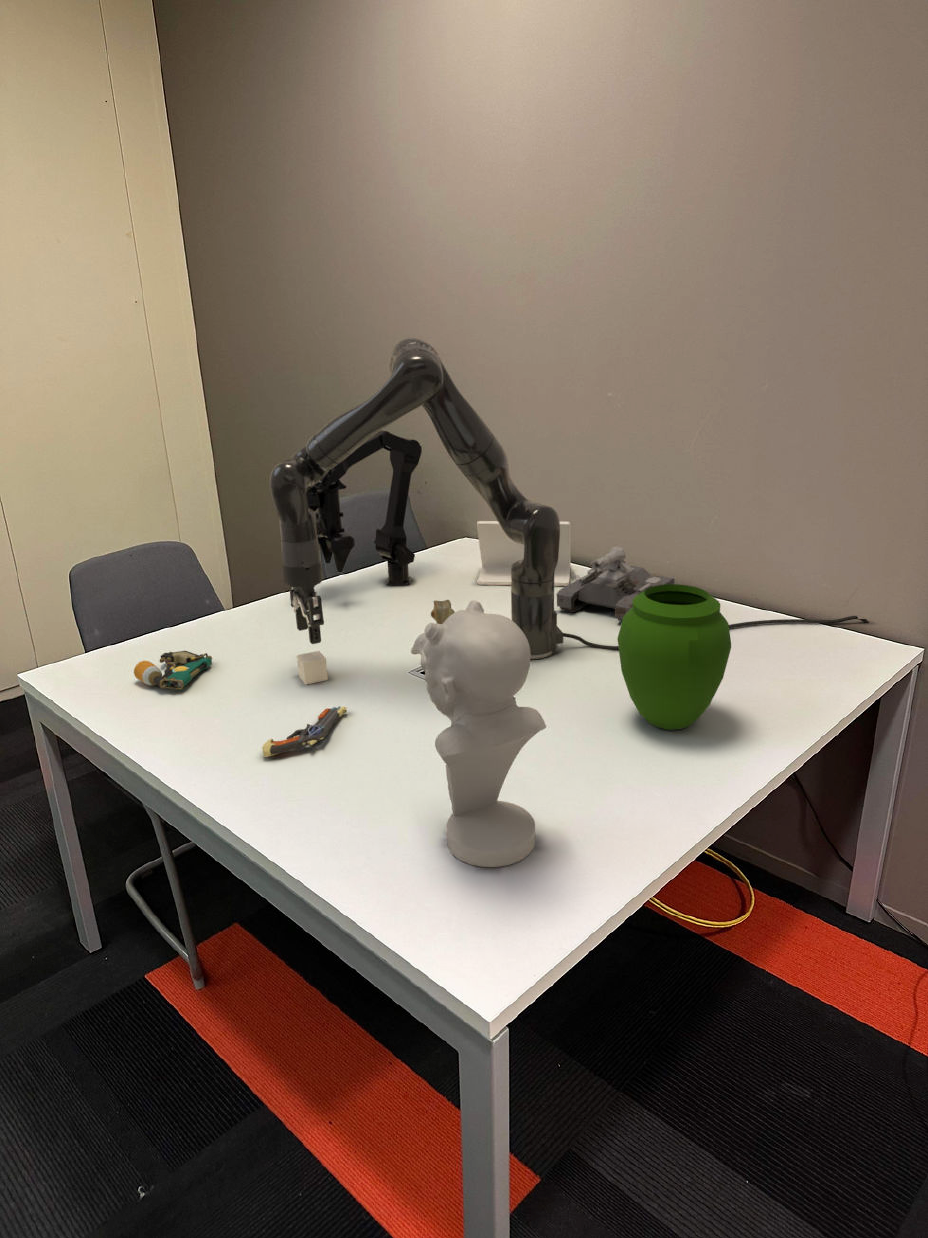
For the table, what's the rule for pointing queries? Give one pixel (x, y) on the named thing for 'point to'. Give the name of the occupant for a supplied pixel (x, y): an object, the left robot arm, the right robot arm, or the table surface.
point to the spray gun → (172, 669)
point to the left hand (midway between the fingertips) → (333, 567)
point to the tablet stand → (514, 554)
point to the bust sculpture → (481, 729)
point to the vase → (673, 653)
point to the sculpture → (441, 611)
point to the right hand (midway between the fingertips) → (309, 636)
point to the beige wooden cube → (312, 667)
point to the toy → (609, 585)
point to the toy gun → (305, 733)
